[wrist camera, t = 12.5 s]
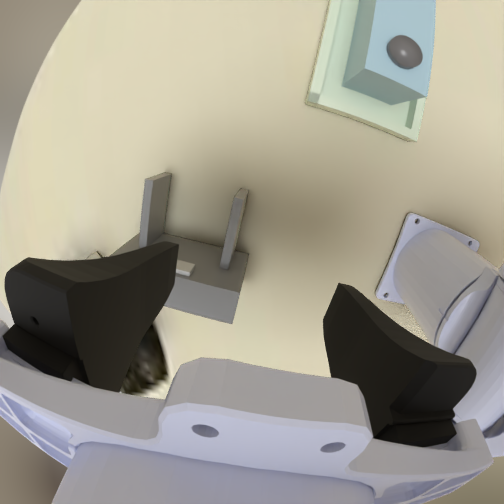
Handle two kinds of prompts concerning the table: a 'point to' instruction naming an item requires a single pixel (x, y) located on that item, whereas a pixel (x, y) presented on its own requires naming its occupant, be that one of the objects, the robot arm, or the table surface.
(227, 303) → the bay
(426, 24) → the tall blue-grey prism
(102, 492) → the robot arm
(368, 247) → the table surface
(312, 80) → the tray
